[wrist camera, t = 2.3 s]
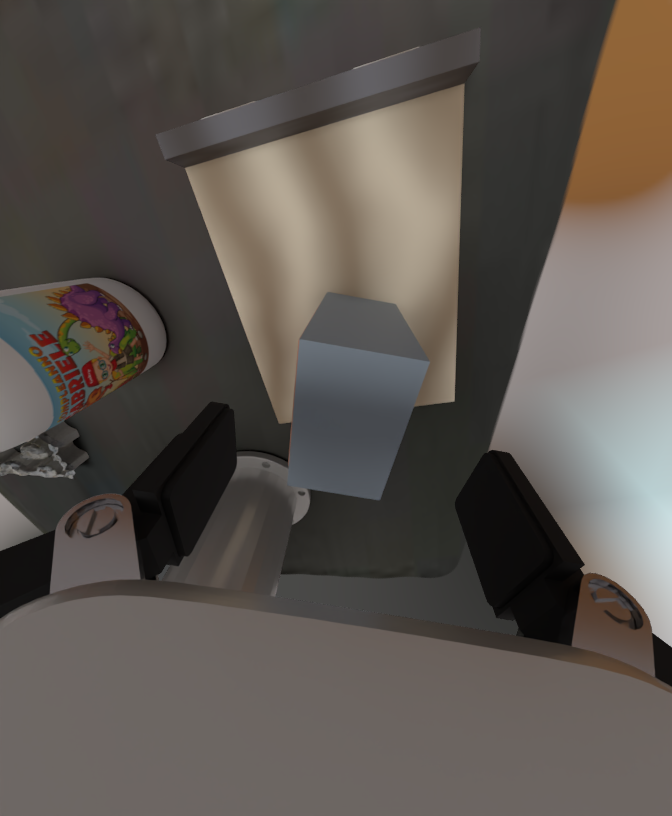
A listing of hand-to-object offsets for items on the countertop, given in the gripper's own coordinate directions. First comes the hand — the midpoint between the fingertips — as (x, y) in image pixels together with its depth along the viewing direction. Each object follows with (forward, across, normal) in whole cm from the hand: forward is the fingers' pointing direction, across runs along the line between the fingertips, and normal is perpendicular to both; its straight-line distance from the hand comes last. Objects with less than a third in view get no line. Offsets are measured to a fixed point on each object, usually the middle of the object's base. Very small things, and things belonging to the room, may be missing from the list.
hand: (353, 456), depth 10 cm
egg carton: (+14, +34, +18) cm, 41 cm away
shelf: (+15, +2, -3) cm, 15 cm away
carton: (+13, 0, +1) cm, 13 cm away
